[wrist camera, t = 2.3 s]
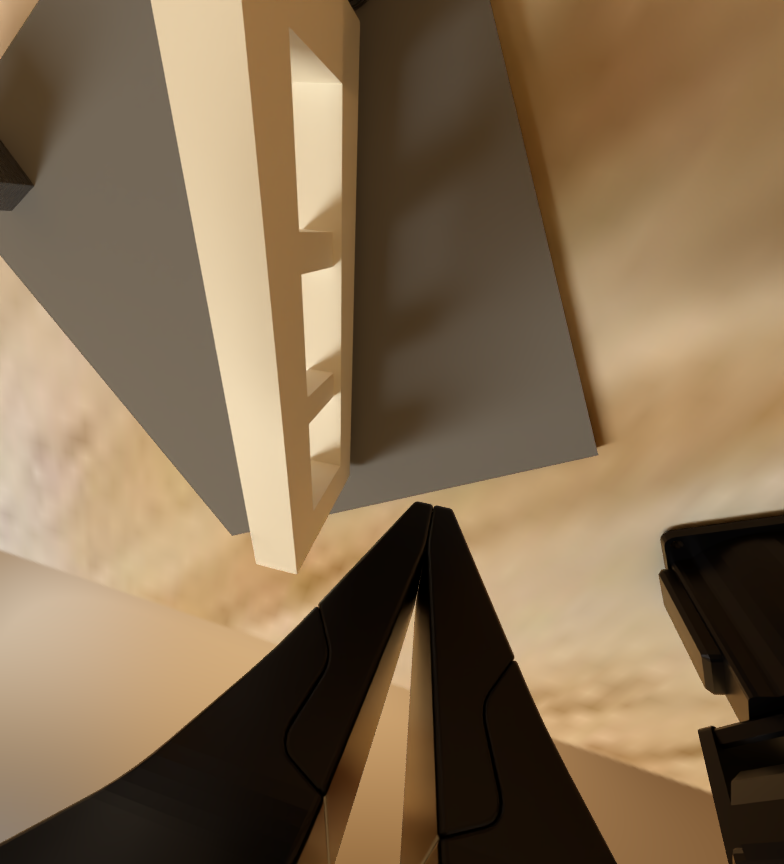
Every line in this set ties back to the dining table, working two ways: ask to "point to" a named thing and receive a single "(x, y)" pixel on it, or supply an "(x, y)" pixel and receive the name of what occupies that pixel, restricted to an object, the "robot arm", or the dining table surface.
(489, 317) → the mat
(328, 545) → the dining table surface
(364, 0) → the hinge post
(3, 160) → the post
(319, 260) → the gate
